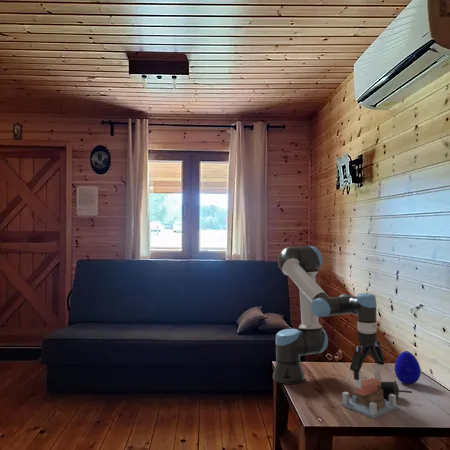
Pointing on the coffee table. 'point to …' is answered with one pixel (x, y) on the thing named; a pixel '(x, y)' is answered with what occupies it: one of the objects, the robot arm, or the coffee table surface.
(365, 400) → the brown blocky piece
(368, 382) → the red rectangular block
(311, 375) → the coffee table surface
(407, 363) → the ornament
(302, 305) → the robot arm
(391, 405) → the jig
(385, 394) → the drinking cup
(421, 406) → the coffee table surface
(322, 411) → the coffee table surface
